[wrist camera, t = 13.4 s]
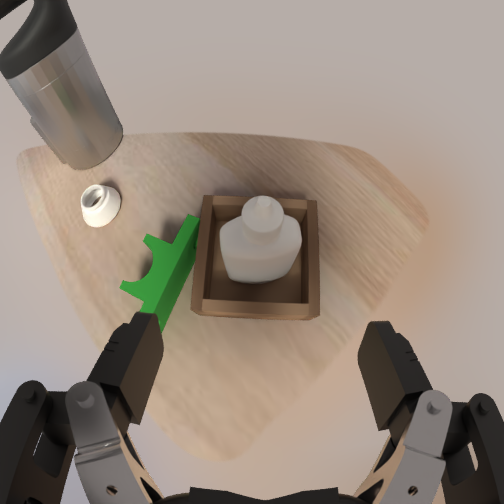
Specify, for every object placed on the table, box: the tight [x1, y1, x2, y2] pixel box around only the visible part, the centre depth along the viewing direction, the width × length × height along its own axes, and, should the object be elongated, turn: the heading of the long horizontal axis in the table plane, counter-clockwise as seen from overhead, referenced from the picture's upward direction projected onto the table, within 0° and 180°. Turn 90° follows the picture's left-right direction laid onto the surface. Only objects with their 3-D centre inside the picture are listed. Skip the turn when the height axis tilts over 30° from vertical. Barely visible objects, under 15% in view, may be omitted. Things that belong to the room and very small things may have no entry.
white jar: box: [81, 185, 121, 227], centre depth 27 cm, size 5×3×5 cm
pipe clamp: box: [120, 214, 200, 334], centre depth 24 cm, size 11×4×5 cm, turn 158°
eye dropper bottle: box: [220, 196, 302, 284], centre depth 20 cm, size 4×6×12 cm
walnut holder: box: [190, 195, 320, 320], centre depth 24 cm, size 10×10×4 cm
